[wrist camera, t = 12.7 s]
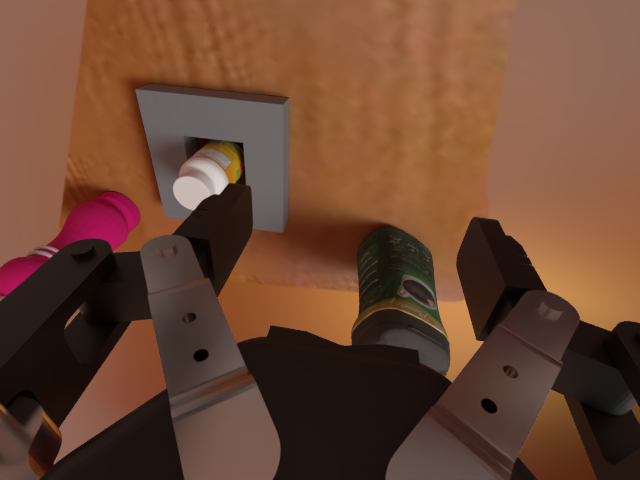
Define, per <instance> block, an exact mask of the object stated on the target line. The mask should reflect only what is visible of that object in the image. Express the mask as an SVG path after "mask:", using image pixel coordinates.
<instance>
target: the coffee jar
mask: <svg viewBox="0 0 640 480" xmlns="http://www.w3.org/2000/svg"><path fill="white" fill-rule="evenodd" d="M358 278H359V315H358V318H357V319H356V321H355V323H354V325H353V328H352V333H351V339H352V345H370V344H385V345H391V346H397V347H403V348H409V349H415V350H418V351H419V361H420V363H422V364H424V365H426V366H428V367H430V368H432V369H434V370H436V371H437V372H439V373H440V374H442V375H443V376H444V377H445V376H446V374H447V372H448V369H449V366H450V349H449V339H448V336H447V333H446V331H445V329H444V327H443V325H442V322H441V319H440V315H439V311H438V306H437V298H436V290H435V281H434V267H433V260H432V255H431V252H430V251H429V249H428V248H427V247H425V246H424V245H423V244H422V243H420V242H419V241H418V240H416V239H415V238H413V237H411V236H410V235H408V234H406V233H404V232H402V231H400V230H398V229H396V228H392V227H384V228H380V229H378V230H376V231H374V232H373V233H372V234H370V235H369V237H368V238H367V239H366V240H365V241H364V242H363V243H362V245H361V246H360V248H359V251H358Z"/></svg>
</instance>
